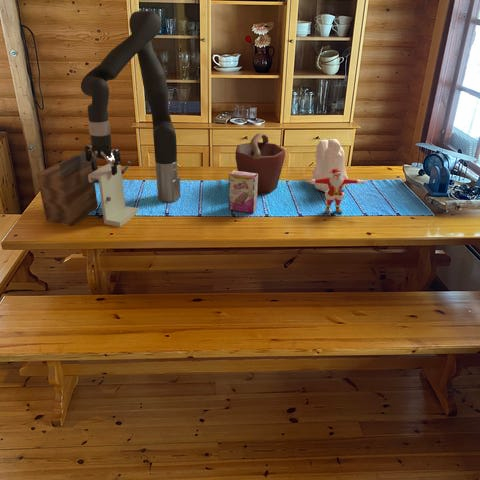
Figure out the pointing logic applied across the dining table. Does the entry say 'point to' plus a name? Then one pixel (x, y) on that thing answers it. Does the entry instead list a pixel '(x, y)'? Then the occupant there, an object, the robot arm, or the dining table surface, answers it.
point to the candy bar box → (243, 191)
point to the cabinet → (68, 190)
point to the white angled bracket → (112, 196)
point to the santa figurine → (335, 188)
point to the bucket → (261, 162)
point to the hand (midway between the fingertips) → (104, 173)
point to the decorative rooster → (328, 162)
